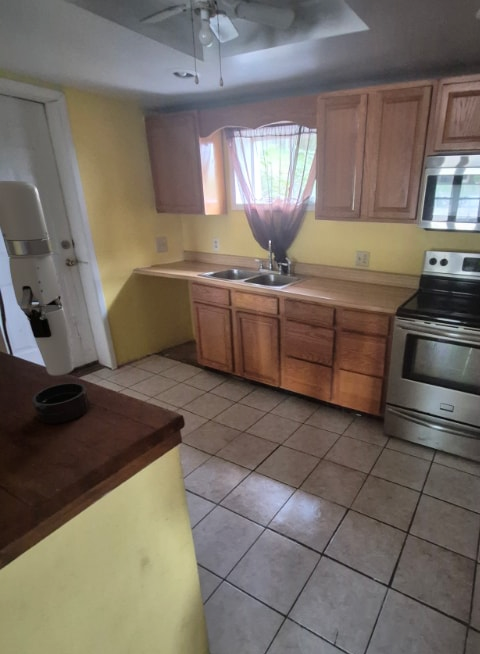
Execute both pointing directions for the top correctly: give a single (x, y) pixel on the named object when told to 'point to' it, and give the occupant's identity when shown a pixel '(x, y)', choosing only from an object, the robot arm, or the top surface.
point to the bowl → (61, 403)
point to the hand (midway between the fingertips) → (50, 330)
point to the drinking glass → (56, 342)
